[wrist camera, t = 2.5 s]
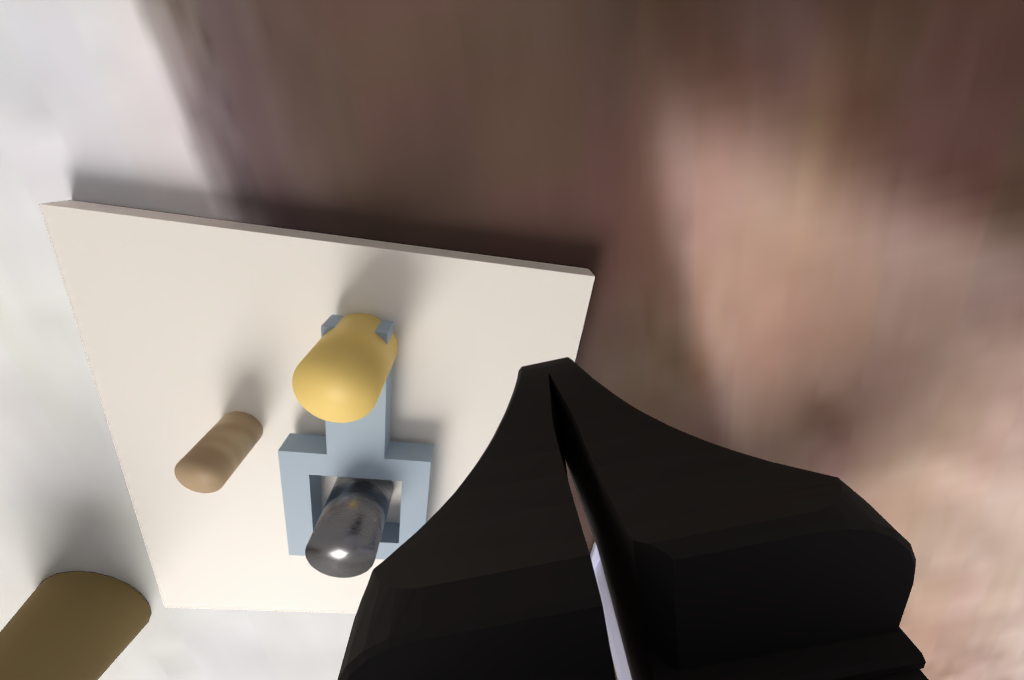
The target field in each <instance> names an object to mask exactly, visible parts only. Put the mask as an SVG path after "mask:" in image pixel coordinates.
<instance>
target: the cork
mask: <svg viewBox="0 0 1024 680" xmlns="http://www.w3.org/2000/svg"><path fill="white" fill-rule="evenodd" d="M150 615H151V611H150V607H149V603H148V602H147V601H146V600H145V598H144V597H143V596H142V595H141V593H139V592H138V591H137V590H135V589H134V588H132V587H131V586H130V585H128V584H126V583H124V582H122V581H119V580H117V579H115V578H113V577H109V576H105V575H101V574H97V573H93V572H79V571H72V572H65V573H58V574H55V575H53V576H51V577H49V578H46V579H45V580H44V581H43V582H42V583H41V584H40V585H39V586H38V587H37V589H36V590H35V591H34V592H33V593H32V595H31V596H30V597H29V598H28V599H27V601H26V602H25V603H24V604H23V605H22V607H21V608H20V609H19V610H18V611H17V613H16V614H15V615H14V616H13V617H12V619H11V620H10V621H9V622H8V623H7V625H6V626H5V627H4V628H3V629H2V631H1V632H0V680H98V679H99V677H100V676H101V675H102V674H103V673H104V672H105V671H106V670H107V668H108V667H109V666H110V665H111V664H112V663H113V662H114V660H115V659H116V658H117V657H118V656H119V655H120V654H121V653H122V651H123V650H124V649H125V648H126V647H127V646H128V645H129V643H130V642H131V641H132V640H133V639H134V638H135V637H136V635H137V634H138V633H139V632H140V631H141V630H142V629H143V628H144V626H145V625H146V624H147V623H148V621H149V618H150Z"/></svg>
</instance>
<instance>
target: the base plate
mask: <svg viewBox="0 0 1024 680" xmlns="http://www.w3.org/2000/svg"><path fill="white" fill-rule="evenodd" d="M39 205H40V208H41V212H42V215H43V218H44V221H45V224H46V228H47V231H48V234H49V237H50V241H51V244H52V247H53V250H54V253H55V257H56V260H57V263H58V266H59V270H60V273H61V276H62V279H63V282H64V286H65V289H66V292H67V295H68V298H69V302H70V305H71V308H72V311H73V315H74V318H75V321H76V324H77V327H78V331H79V334H80V337H81V340H82V343H83V347H84V350H85V353H86V356H87V360H88V363H89V366H90V369H91V372H92V376H93V379H94V382H95V385H96V388H97V392H98V395H99V398H100V401H101V405H102V408H103V411H104V414H105V417H106V421H107V424H108V427H109V430H110V433H111V437H112V440H113V443H114V446H115V450H116V453H117V456H118V459H119V462H120V466H121V469H122V472H123V475H124V479H125V482H126V485H127V488H128V491H129V495H130V498H131V501H132V504H133V507H134V511H135V514H136V517H137V520H138V524H139V527H140V530H141V533H142V536H143V540H144V543H145V546H146V549H147V552H148V556H149V559H150V562H151V565H152V569H153V572H154V575H155V578H156V581H157V585H158V588H159V591H160V594H161V597H162V601H163V604H164V607H165V608H196V609H228V610H259V611H291V612H322V613H354V614H356V613H357V610H358V607H359V605H360V602H361V599H362V596H363V594H364V592H365V589H366V587H367V584H368V582H369V579H370V576H371V573H372V571H373V569H374V568H375V567H377V566H378V565H379V564H380V563H381V562H383V561H384V559H375V562H374V564H373V566H372V567H371V568H370V569H369V570H368V571H366V572H365V573H363V574H361V575H358V576H355V577H349V578H338V577H332V576H328V575H325V574H323V573H321V572H319V571H317V570H316V569H314V568H313V567H312V566H311V565H310V564H309V562H308V561H307V559H306V556H298V555H289V550H288V541H287V531H286V522H285V513H284V504H283V495H282V485H281V476H280V467H279V458H278V450H279V448H280V447H281V445H282V444H283V442H284V441H285V440H286V438H287V437H288V435H289V434H290V433H295V434H308V435H320V436H326V425H325V420H323V419H320V418H318V417H316V416H314V415H312V414H311V413H310V412H308V411H307V410H306V409H305V408H304V407H303V406H302V405H301V404H300V403H299V401H298V400H297V398H296V396H295V394H294V391H293V387H292V377H293V373H294V371H295V369H296V367H297V366H298V364H299V363H300V362H301V361H302V359H303V358H304V357H305V356H306V355H307V354H308V353H309V351H310V350H311V349H312V348H313V347H314V346H315V345H316V343H317V342H318V341H319V340H320V339H321V326H322V324H323V323H324V322H325V321H326V320H327V319H328V318H329V317H330V316H331V315H341V316H345V315H348V314H353V313H364V314H369V315H373V316H375V317H377V318H379V319H381V320H386V321H394V331H393V332H394V334H395V336H396V339H397V343H398V352H397V356H396V358H395V361H394V363H393V365H392V394H391V426H390V441H396V442H409V443H422V444H434V448H433V459H432V471H431V483H430V494H429V506H428V518H427V521H428V520H429V519H430V518H431V517H432V516H433V515H434V514H435V513H436V512H437V511H438V510H439V509H440V508H441V507H442V506H443V505H444V504H445V503H446V502H447V500H448V499H449V498H450V497H451V496H452V495H453V494H454V493H455V491H456V490H457V489H458V488H459V486H460V485H461V484H462V483H463V481H464V480H465V479H466V477H467V476H468V475H469V473H470V472H471V471H472V469H473V468H474V466H475V465H476V464H477V462H478V461H479V459H480V458H481V456H482V454H483V453H484V451H485V450H486V448H487V447H488V445H489V443H490V441H491V440H492V438H493V436H494V434H495V432H496V430H497V428H498V426H499V424H500V422H501V420H502V418H503V416H504V414H505V412H506V409H507V407H508V404H509V402H510V399H511V397H512V394H513V391H514V388H515V385H516V381H517V377H518V371H519V370H520V368H521V367H522V366H527V365H532V364H537V363H541V362H546V361H551V360H556V359H560V358H565V357H569V358H570V359H572V360H573V361H574V362H575V359H576V355H577V351H578V347H579V343H580V338H581V334H582V330H583V326H584V321H585V317H586V313H587V309H588V305H589V300H590V296H591V292H592V288H593V283H594V279H595V276H594V275H593V273H592V272H591V271H590V270H589V269H587V268H579V267H572V266H564V265H557V264H549V263H542V262H534V261H527V260H519V259H512V258H504V257H496V256H489V255H481V254H474V253H466V252H459V251H451V250H444V249H436V248H429V247H421V246H413V245H406V244H398V243H391V242H383V241H376V240H368V239H361V238H353V237H346V236H338V235H331V234H323V233H315V232H308V231H300V230H293V229H285V228H278V227H270V226H263V225H255V224H248V223H240V222H232V221H225V220H217V219H210V218H202V217H195V216H187V215H180V214H172V213H165V212H157V211H150V210H142V209H134V208H127V207H119V206H112V205H104V204H97V203H89V202H82V201H74V200H67V201H59V202H51V203H42V204H39ZM234 411H240V412H245V413H248V414H250V415H252V416H254V417H255V418H256V419H257V420H258V421H259V422H260V423H261V425H262V428H263V434H262V436H261V438H260V439H259V441H258V442H257V443H256V444H255V446H254V447H253V448H252V450H251V451H250V452H249V453H248V455H247V456H246V457H245V459H244V460H243V461H242V462H241V464H240V465H239V466H238V468H237V469H236V470H235V471H234V473H233V474H232V475H231V477H230V478H229V479H228V480H227V482H226V483H225V484H224V486H223V487H222V488H221V489H220V490H218V491H216V492H213V493H199V492H195V491H192V490H190V489H188V488H186V487H184V486H183V485H182V484H181V483H180V482H179V481H178V480H177V478H176V476H175V473H174V469H175V466H176V464H177V463H178V462H179V461H180V460H181V459H182V458H183V457H184V456H185V455H186V454H187V453H188V452H189V451H190V450H191V449H192V448H193V447H194V446H195V445H196V444H197V443H198V442H199V441H200V440H201V439H202V438H203V437H204V436H205V435H206V433H207V432H208V431H209V430H210V429H211V428H212V427H213V426H214V425H215V424H216V423H217V422H218V421H219V420H220V419H221V418H222V417H223V416H224V415H226V414H227V413H230V412H234ZM336 479H337V477H336V476H321V475H320V483H321V500H322V510H323V508H324V506H325V504H326V502H327V499H328V497H329V495H330V493H331V490H332V488H333V486H334V484H335V482H336ZM392 482H393V485H394V491H393V495H392V499H391V502H390V506H389V510H388V513H387V517H386V521H385V522H392V523H400V511H401V490H402V481H395V480H392Z"/></svg>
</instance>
